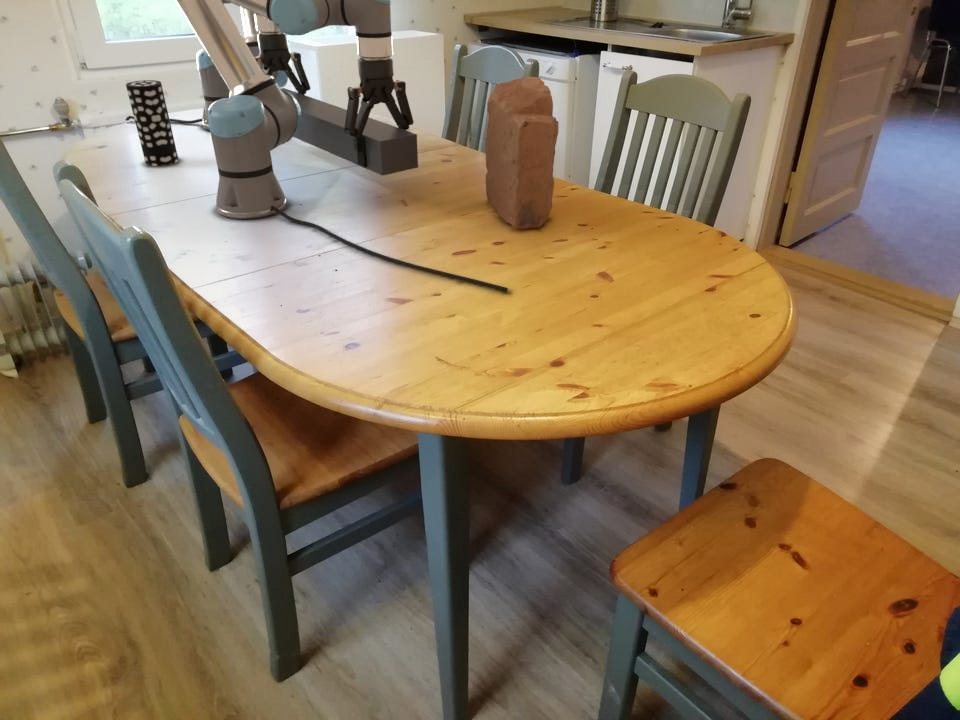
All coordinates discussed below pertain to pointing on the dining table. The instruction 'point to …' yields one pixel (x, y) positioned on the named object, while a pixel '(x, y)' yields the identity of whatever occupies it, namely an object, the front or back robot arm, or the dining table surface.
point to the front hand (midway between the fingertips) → (381, 161)
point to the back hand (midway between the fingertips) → (284, 120)
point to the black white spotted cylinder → (152, 122)
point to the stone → (521, 151)
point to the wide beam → (326, 131)
